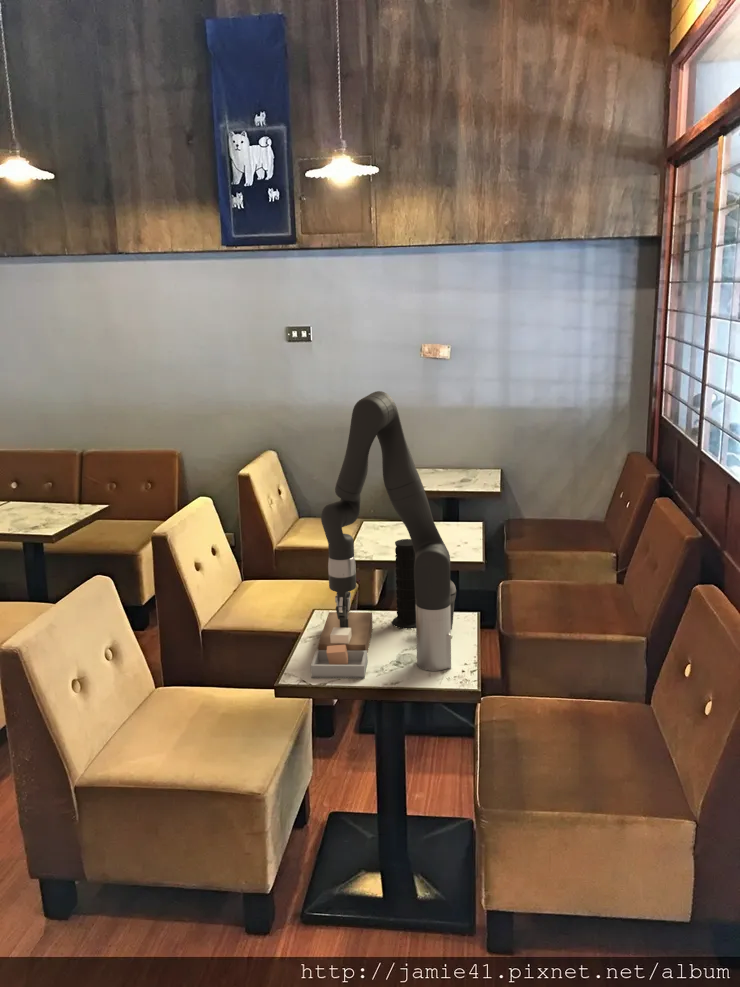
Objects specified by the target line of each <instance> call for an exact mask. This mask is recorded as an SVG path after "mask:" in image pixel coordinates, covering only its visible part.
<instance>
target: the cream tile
mask: <svg viewBox="0 0 740 987" xmlns="http://www.w3.org/2000/svg"><path fill="white" fill-rule="evenodd" d="M351 637H352V633H351V628H338V627H334V628H333V630H332V632H331V634H330V640H331V643H342V644H349V642H350V639H351Z"/></svg>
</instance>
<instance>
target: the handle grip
mask: <svg viewBox="0 0 740 987" xmlns="http://www.w3.org/2000/svg"><path fill="white" fill-rule="evenodd" d="M394 545H395V548H394V549H395V550H394V552H395V578H396V579H395V584H396V585H395V587H396V590H395V591H396V592H395V593H396V608H397V609H396V617H394V618H393V619H392V621H391V624H392V626H394V625H395V626H397V627H396V628H398V627H400V628H399V629H403V628H407V629H406V630H412V629H411V628H413V629H416V599H415V580H414V564H415V552H414V548H413V544H412V541H411V538H410V539H409V538H404V539H397V540H396V541H395V542H394ZM395 626H394V627H395Z"/></svg>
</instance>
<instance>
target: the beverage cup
mask: <svg viewBox="0 0 740 987" xmlns="http://www.w3.org/2000/svg"><path fill="white" fill-rule="evenodd" d="M450 594H451V604H450V612H451V631H452V630H453V624H454V614H455V613H454V610H455V600H456V596H457V589H456V585H455V583H454V582H453V581H452V580H451V579H450Z"/></svg>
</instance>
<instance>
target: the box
mask: <svg viewBox="0 0 740 987" xmlns="http://www.w3.org/2000/svg"><path fill="white" fill-rule="evenodd" d="M347 653H348V664H343V665H329V661H328V657H327V650H318V649H316V650H315V652H314V655H313V658H312V661H311V664H310V676H311V679H363V678H364V679H365V677H366V673H367V667H368V654H367V650H347Z"/></svg>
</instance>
